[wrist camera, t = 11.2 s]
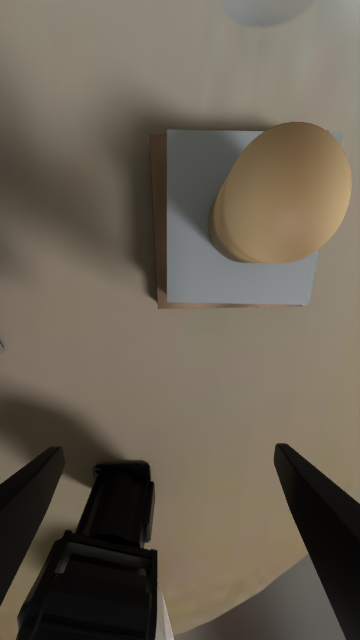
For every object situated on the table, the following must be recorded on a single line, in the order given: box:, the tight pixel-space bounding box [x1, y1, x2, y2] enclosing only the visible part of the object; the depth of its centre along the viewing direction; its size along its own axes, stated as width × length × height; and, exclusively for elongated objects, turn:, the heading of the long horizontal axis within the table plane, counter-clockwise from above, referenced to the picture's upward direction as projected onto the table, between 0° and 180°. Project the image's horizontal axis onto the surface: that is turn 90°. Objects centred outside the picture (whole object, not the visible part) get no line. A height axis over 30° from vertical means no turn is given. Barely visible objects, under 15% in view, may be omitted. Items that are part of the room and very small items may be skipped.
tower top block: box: [167, 129, 342, 305], centre depth 14 cm, size 10×10×2 cm
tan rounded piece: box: [208, 122, 352, 264], centre depth 11 cm, size 5×5×5 cm
